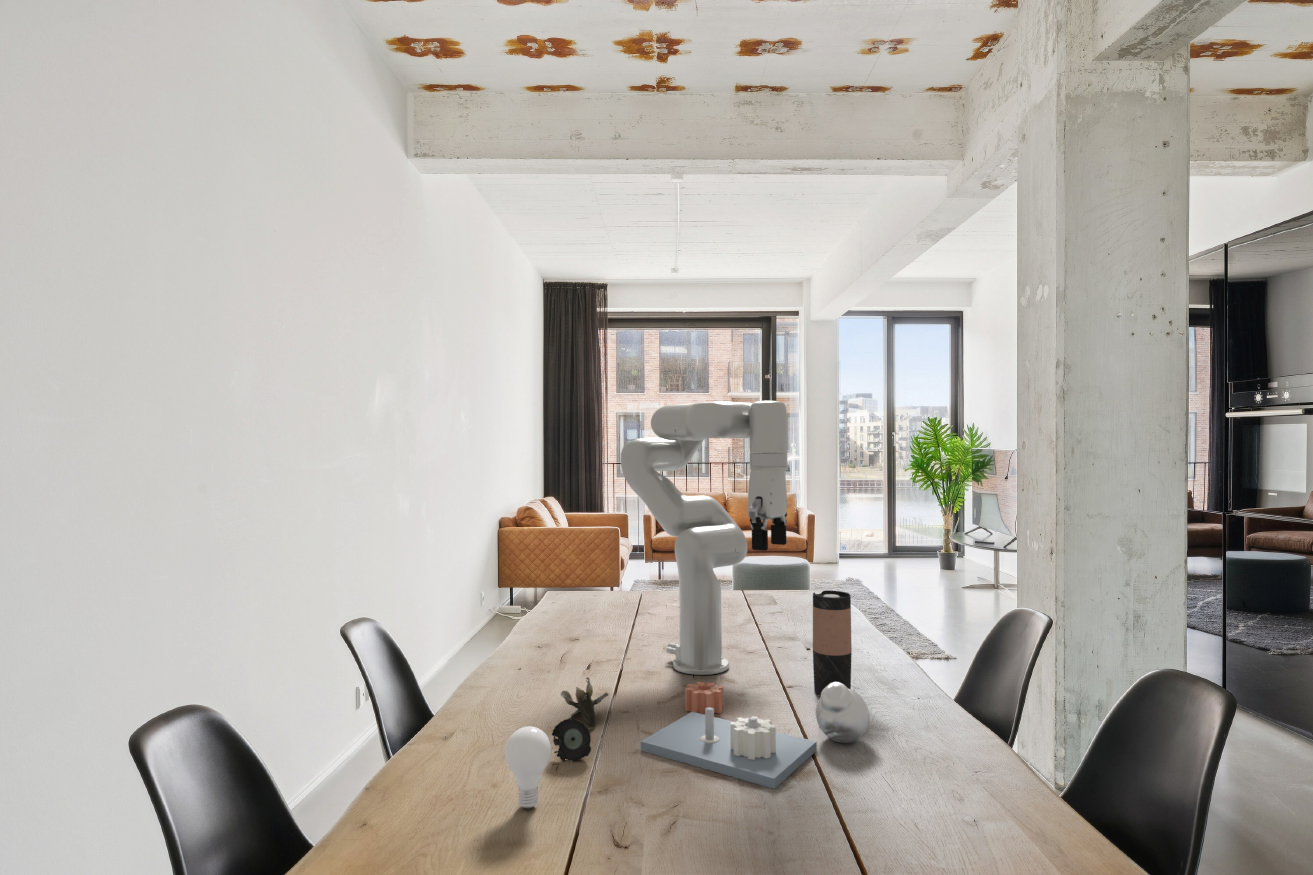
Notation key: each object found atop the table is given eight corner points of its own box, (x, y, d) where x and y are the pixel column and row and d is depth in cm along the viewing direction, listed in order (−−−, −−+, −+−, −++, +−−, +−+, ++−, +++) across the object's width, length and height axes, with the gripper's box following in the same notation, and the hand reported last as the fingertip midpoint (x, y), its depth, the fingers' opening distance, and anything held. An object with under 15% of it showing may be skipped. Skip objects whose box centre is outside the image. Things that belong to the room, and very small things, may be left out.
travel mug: (853, 700, 142) (852, 598, 142) (813, 698, 143) (812, 597, 144) (850, 687, 149) (849, 590, 150) (812, 685, 151) (812, 589, 151)
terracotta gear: (678, 710, 137) (678, 689, 137) (697, 699, 143) (697, 679, 143) (710, 718, 133) (710, 696, 133) (729, 706, 139) (729, 685, 139)
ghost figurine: (802, 735, 125) (802, 677, 125) (848, 727, 129) (847, 670, 129) (834, 756, 117) (833, 694, 117) (881, 746, 120) (881, 686, 120)
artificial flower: (542, 770, 116) (527, 706, 117) (580, 732, 138) (567, 679, 139) (594, 757, 114) (579, 693, 116) (624, 721, 136) (611, 667, 138)
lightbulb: (507, 797, 104) (507, 720, 104) (552, 795, 104) (552, 718, 104) (502, 820, 97) (501, 737, 97) (549, 817, 98) (549, 736, 98)
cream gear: (728, 757, 113) (728, 731, 113) (733, 739, 120) (733, 714, 120) (774, 761, 111) (774, 735, 111) (776, 742, 118) (776, 718, 118)
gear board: (640, 750, 119) (640, 710, 119) (692, 719, 132) (691, 684, 133) (774, 788, 106) (774, 744, 106) (816, 750, 119) (816, 710, 119)
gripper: (767, 461, 156) (768, 541, 156) (733, 463, 141) (734, 551, 141) (801, 461, 152) (802, 543, 152) (769, 463, 137) (770, 553, 137)
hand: (769, 547), depth 146 cm, fingers open, 9 cm apart
